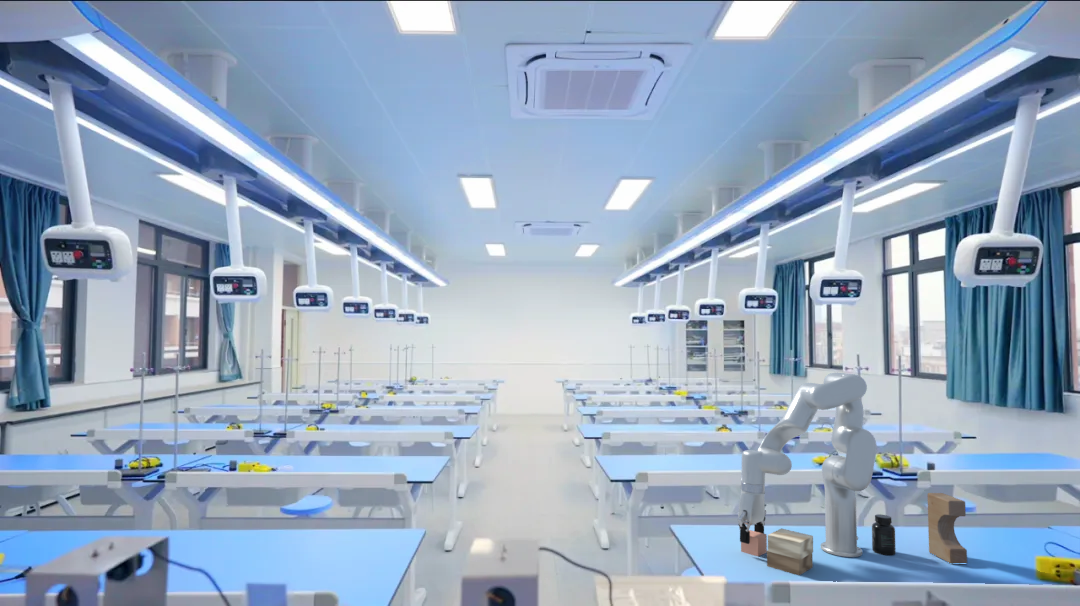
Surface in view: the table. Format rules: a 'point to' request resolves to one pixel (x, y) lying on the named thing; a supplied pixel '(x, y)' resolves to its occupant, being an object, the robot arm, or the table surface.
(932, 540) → the decorative block
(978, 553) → the table surface
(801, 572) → the walnut base block
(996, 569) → the table surface
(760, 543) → the terracotta cube
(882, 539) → the supplement bottle
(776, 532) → the maple top block
